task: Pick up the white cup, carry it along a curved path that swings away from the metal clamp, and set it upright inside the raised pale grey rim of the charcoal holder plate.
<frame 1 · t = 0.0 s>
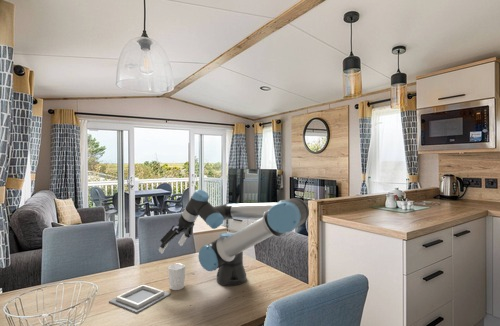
hand: (170, 248, 145), 15 cm above the table, tool tilted 35°, fingers open, 13 cm apart
white cup: (177, 287, 134), on the table
holder: (140, 298, 123), on the table
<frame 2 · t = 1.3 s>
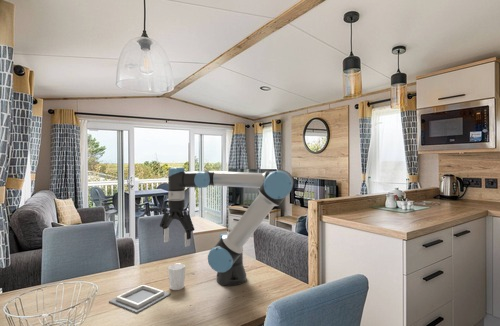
hand: (176, 243, 134), 21 cm above the table, tool pointing down, fingers open, 13 cm apart
nothing on the table moved.
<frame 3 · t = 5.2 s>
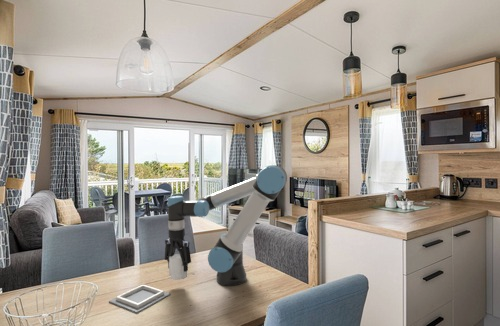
hand: (178, 276, 134), 5 cm above the table, tool pointing down, fingers closed on white cup, 7 cm apart
white cup: (178, 277, 134), point 5 cm above the table, touching gripper
when the fingers open (3 cm above the table, at t = 11.2 s): white cup drops 2 cm, resting on holder.
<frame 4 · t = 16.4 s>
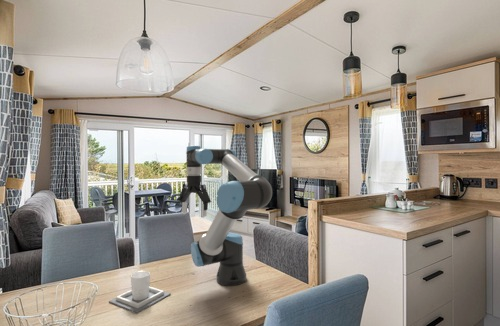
hand: (194, 215, 148), 32 cm above the table, tool pointing down, fingers open, 13 cm apart
white cup: (140, 297, 123), resting on holder
at the end: white cup 0.1 cm off-centre on the holder, point 0.4 cm above the holder's base; white cup tilted 0°; the gripper is holding nothing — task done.
